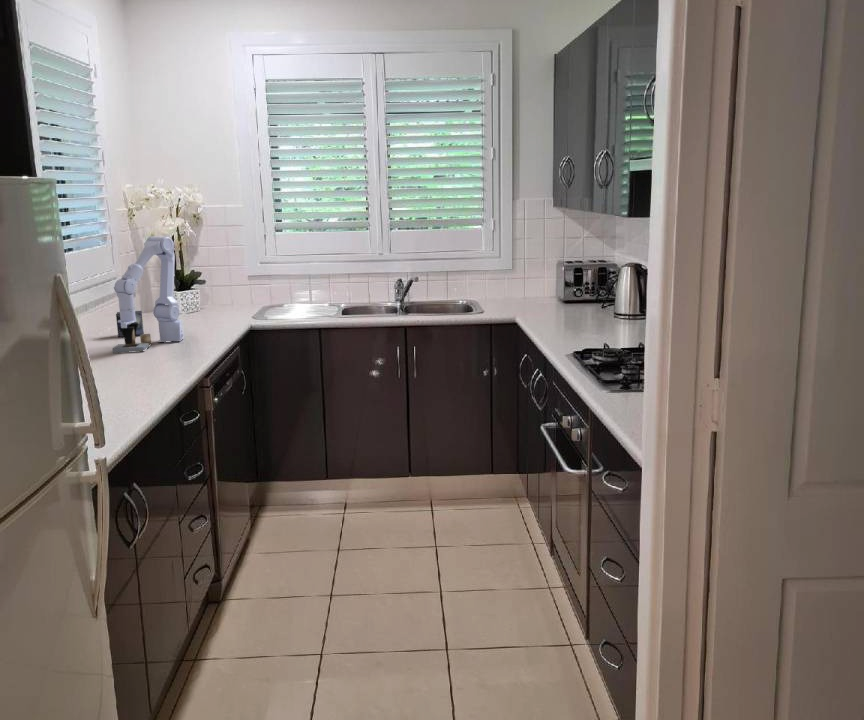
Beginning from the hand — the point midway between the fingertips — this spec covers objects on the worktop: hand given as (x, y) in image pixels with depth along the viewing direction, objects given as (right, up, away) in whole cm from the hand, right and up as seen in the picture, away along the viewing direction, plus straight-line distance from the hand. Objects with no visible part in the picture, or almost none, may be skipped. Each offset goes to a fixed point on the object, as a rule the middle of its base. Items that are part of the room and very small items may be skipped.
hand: (130, 342), depth 329 cm
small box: (-12, +4, +33) cm, 35 cm away
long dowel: (0, -2, +1) cm, 3 cm away
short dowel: (+3, -1, +10) cm, 11 cm away
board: (0, -3, +1) cm, 3 cm away
